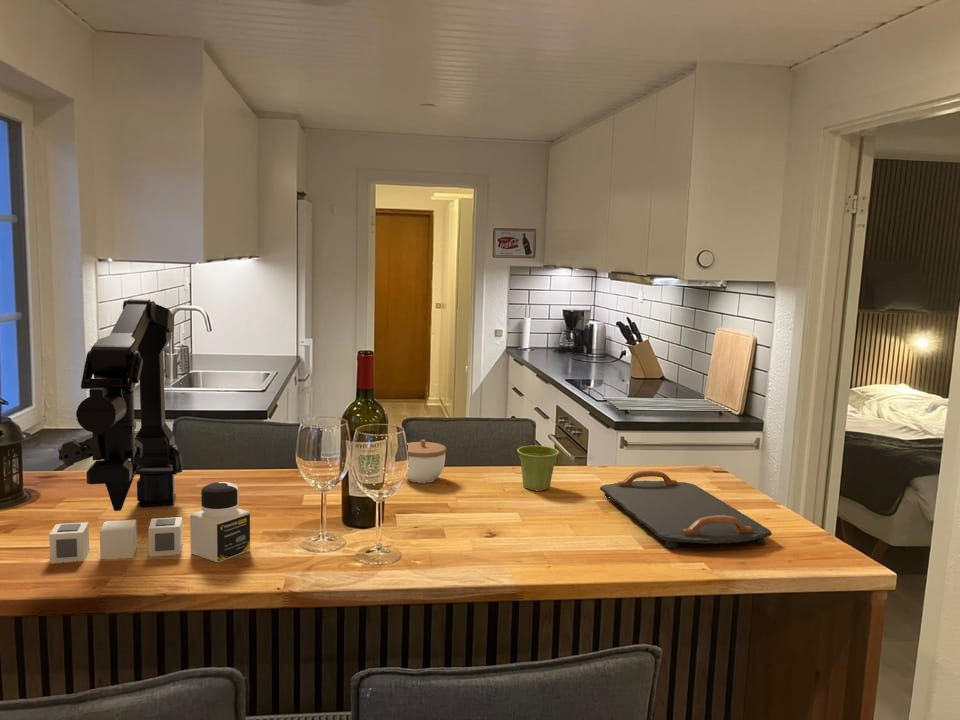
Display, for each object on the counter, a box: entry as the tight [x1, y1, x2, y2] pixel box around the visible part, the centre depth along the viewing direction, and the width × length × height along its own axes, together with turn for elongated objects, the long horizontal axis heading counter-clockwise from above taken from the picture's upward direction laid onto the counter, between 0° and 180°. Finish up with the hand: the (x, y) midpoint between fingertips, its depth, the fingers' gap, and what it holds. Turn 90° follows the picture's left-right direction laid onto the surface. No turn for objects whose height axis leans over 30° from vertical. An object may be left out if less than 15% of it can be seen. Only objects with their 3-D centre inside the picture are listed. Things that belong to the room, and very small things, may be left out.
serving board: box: [599, 470, 773, 550], centre depth 164 cm, size 39×23×6 cm, turn 13°
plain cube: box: [99, 519, 138, 560], centre depth 136 cm, size 5×5×5 cm
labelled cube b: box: [48, 521, 90, 564], centre depth 133 cm, size 5×5×5 cm
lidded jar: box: [406, 439, 447, 484], centre depth 185 cm, size 11×11×9 cm
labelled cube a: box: [148, 516, 184, 557], centre depth 138 cm, size 5×5×5 cm
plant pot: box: [516, 445, 560, 491], centre depth 182 cm, size 9×9×9 cm
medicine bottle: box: [189, 481, 251, 563], centre depth 137 cm, size 7×7×12 cm
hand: (117, 510), depth 135 cm, fingers closed
